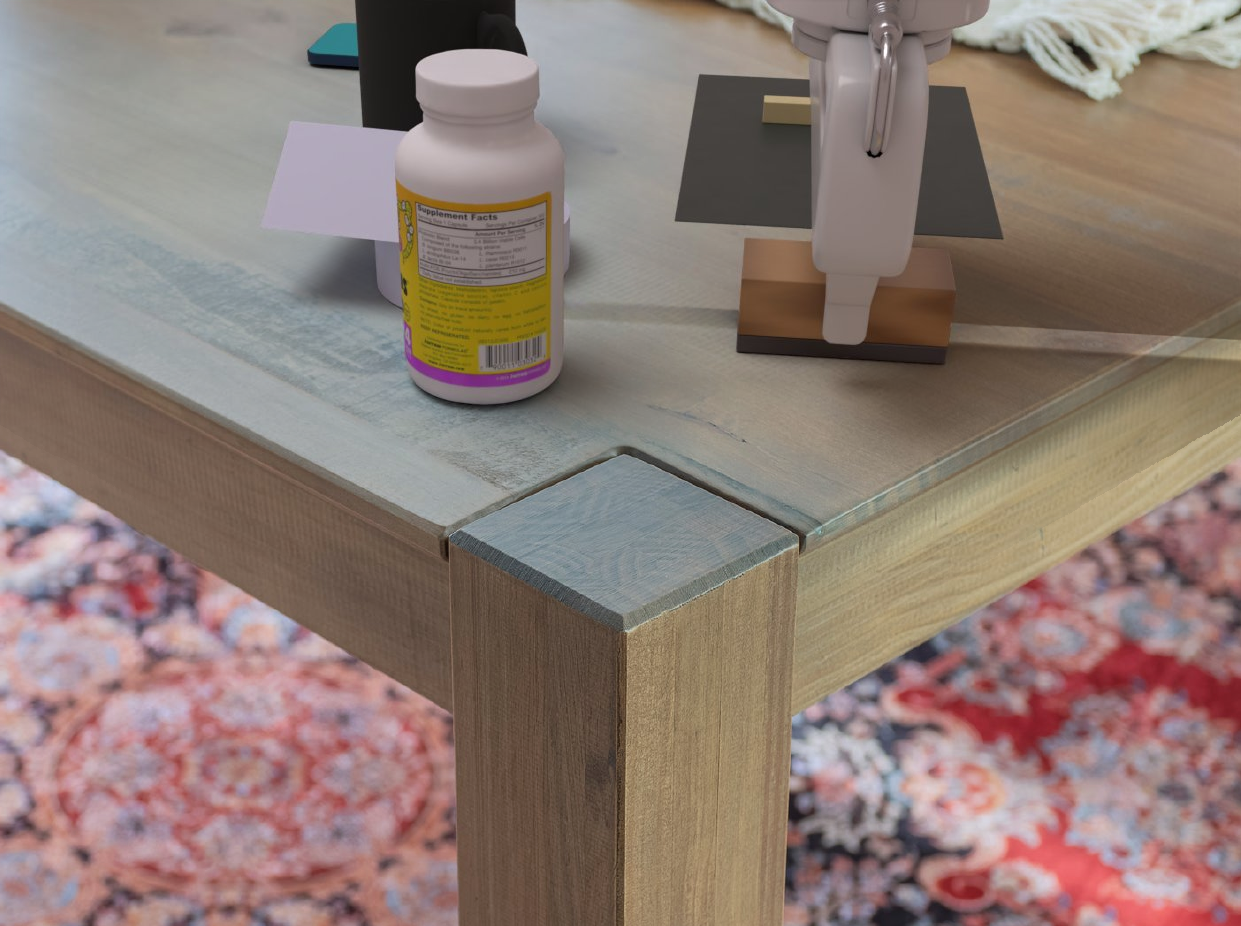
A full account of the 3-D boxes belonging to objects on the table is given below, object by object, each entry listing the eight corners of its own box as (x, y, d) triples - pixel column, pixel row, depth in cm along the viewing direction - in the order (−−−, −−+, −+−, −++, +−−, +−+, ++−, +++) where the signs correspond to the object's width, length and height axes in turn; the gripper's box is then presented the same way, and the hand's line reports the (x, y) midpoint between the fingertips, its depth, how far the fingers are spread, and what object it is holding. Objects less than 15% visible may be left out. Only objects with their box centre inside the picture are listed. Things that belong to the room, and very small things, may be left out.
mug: (462, 221, 85) (457, 8, 79) (335, 155, 92) (321, -44, 86) (590, 186, 89) (594, -18, 83) (458, 126, 97) (453, -66, 90)
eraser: (938, 320, 76) (949, 248, 74) (945, 364, 72) (956, 290, 70) (739, 308, 77) (744, 237, 75) (735, 352, 73) (741, 278, 71)
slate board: (963, 103, 101) (965, 86, 101) (1000, 258, 82) (1004, 238, 81) (698, 90, 103) (699, 73, 102) (673, 239, 83) (674, 220, 83)
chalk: (850, 120, 95) (853, 99, 95) (851, 127, 94) (853, 106, 94) (762, 116, 96) (764, 95, 95) (762, 123, 95) (763, 101, 94)
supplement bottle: (446, 330, 74) (436, 31, 67) (585, 356, 73) (591, 51, 65) (377, 393, 69) (358, 78, 62) (525, 423, 67) (524, 102, 60)
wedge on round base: (267, 297, 77) (541, 330, 75) (252, 153, 73) (542, 182, 71) (335, 226, 84) (588, 253, 82) (325, 90, 80) (591, 115, 78)
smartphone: (336, 19, 110) (560, 32, 108) (337, 32, 111) (560, 45, 109) (303, 53, 105) (539, 67, 103) (304, 66, 105) (539, 81, 103)
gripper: (985, 38, 57) (927, 406, 65) (945, -96, 73) (903, 211, 81) (797, 28, 57) (763, 395, 65) (799, -102, 74) (772, 204, 82)
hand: (840, 292), depth 73 cm, fingers open, 8 cm apart
